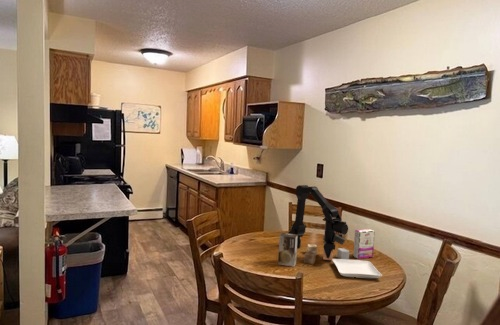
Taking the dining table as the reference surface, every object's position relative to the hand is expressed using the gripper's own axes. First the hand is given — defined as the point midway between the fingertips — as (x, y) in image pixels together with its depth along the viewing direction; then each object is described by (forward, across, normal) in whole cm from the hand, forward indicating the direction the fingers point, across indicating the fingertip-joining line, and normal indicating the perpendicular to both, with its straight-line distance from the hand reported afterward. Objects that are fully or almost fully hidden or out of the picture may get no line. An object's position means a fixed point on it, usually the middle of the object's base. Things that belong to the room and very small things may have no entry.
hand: (327, 256), depth 199 cm
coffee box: (+2, -14, +22) cm, 26 cm away
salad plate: (+3, -13, -14) cm, 19 cm away
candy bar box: (+2, +13, -21) cm, 25 cm away
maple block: (+2, +8, +9) cm, 12 cm away
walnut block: (+2, -7, +10) cm, 12 cm away
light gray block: (+2, +7, -9) cm, 12 cm away
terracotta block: (+1, 0, 0) cm, 1 cm away
